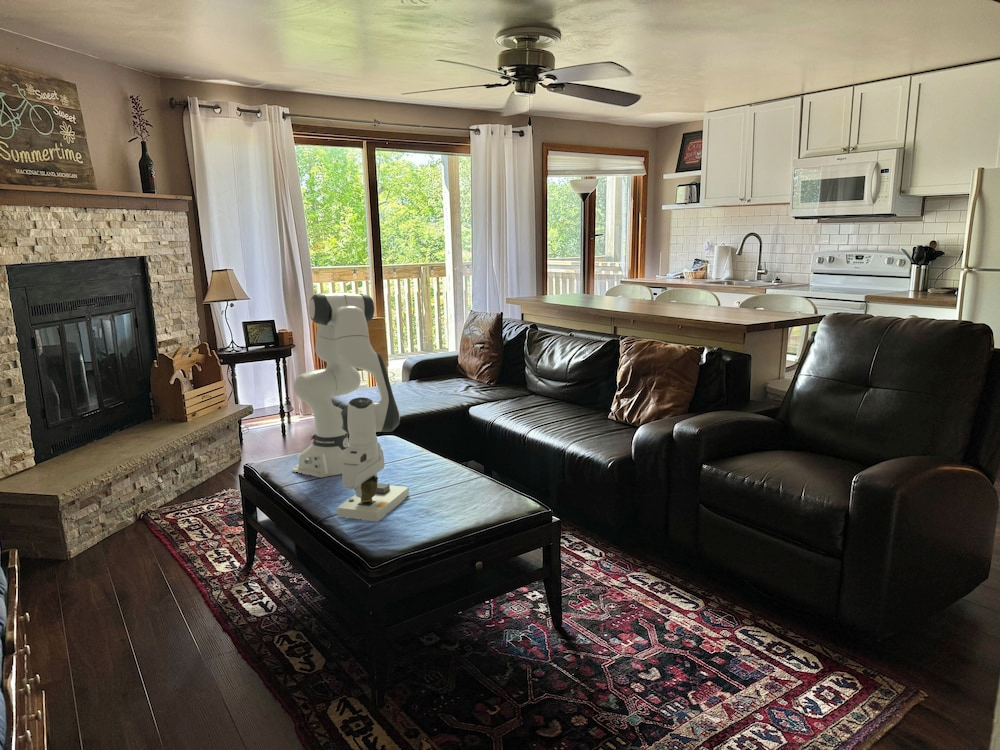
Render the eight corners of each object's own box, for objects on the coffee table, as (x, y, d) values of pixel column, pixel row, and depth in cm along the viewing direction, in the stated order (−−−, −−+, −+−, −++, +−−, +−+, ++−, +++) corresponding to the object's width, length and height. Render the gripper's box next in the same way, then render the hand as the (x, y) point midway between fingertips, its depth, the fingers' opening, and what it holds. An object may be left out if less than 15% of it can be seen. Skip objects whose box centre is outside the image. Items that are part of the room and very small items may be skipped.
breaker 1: (358, 513, 208) (357, 504, 207) (364, 508, 211) (364, 499, 211) (369, 514, 207) (369, 505, 206) (375, 510, 210) (375, 500, 210)
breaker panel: (337, 516, 206) (337, 506, 205) (372, 491, 226) (371, 482, 225) (377, 521, 201) (377, 511, 201) (409, 495, 222) (408, 486, 221)
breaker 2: (373, 496, 217) (372, 487, 216) (379, 492, 220) (378, 483, 220) (384, 497, 215) (383, 488, 215) (390, 493, 219) (389, 484, 219)
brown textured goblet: (366, 496, 213) (365, 473, 212) (383, 500, 210) (382, 476, 208) (349, 503, 207) (348, 478, 206) (367, 507, 203) (366, 482, 202)
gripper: (370, 439, 216) (373, 479, 218) (337, 459, 197) (340, 502, 199) (388, 441, 214) (390, 481, 216) (355, 461, 195) (358, 505, 197)
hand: (365, 492), depth 208 cm, fingers closed on brown textured goblet, 6 cm apart
